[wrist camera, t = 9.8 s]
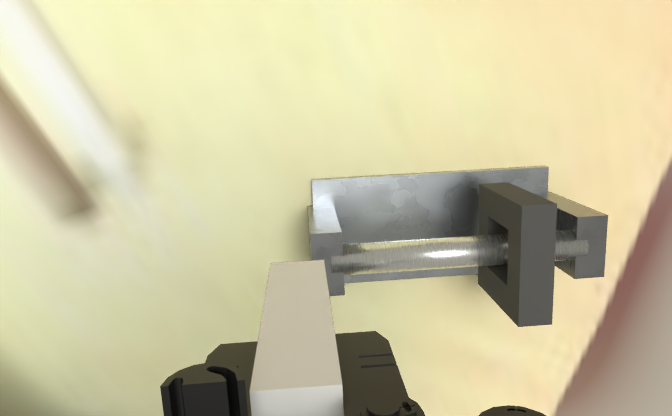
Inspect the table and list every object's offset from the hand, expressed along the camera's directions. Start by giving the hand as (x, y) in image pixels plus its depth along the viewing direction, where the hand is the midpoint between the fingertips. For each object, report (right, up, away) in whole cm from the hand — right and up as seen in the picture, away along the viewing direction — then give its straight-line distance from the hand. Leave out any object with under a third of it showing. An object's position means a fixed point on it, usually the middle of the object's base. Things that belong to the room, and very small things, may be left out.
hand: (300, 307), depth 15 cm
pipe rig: (+10, +1, +36) cm, 37 cm away
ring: (+15, +1, +32) cm, 35 cm away
